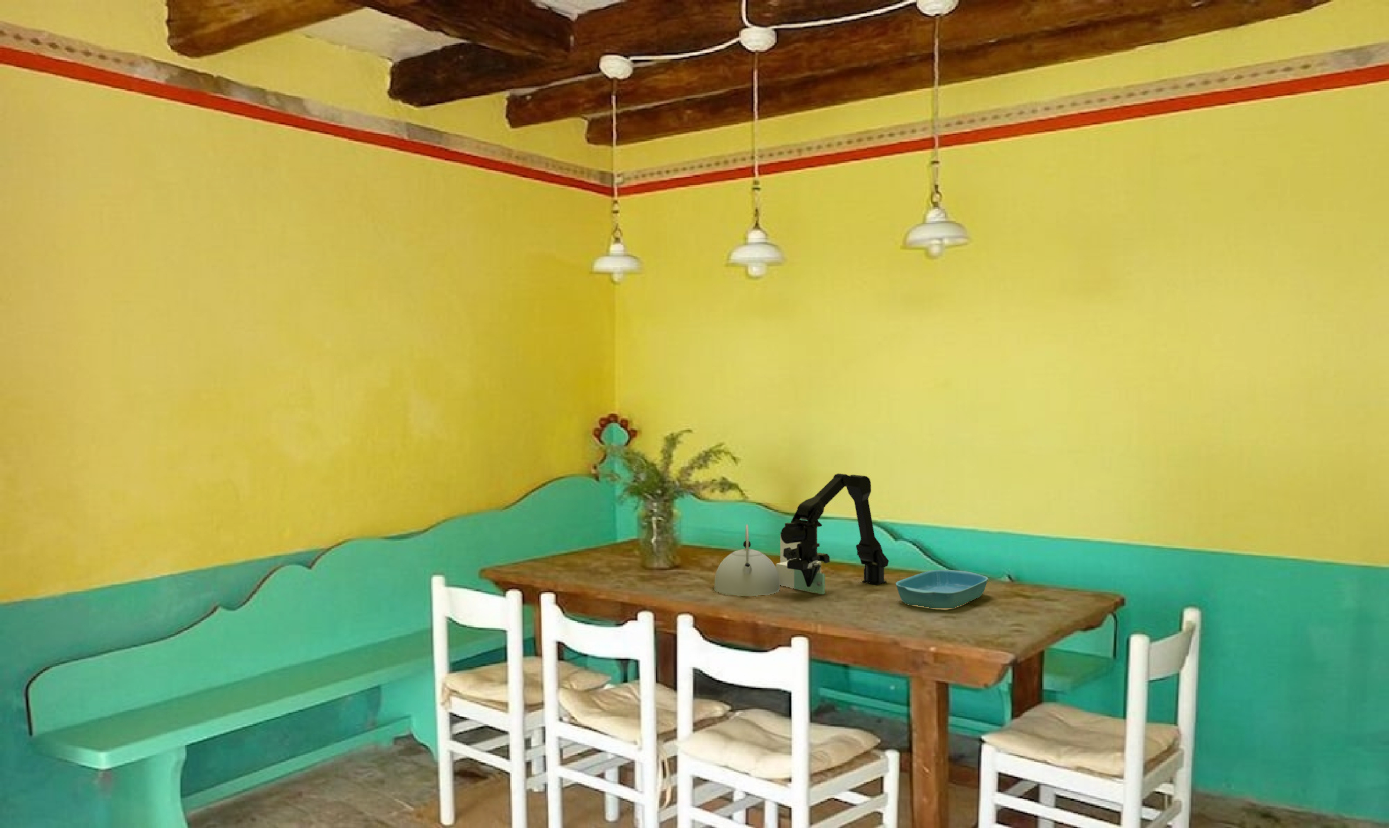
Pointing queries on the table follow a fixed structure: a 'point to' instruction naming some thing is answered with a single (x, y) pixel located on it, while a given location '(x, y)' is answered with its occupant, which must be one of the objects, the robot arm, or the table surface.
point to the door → (815, 587)
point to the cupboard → (788, 574)
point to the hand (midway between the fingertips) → (808, 586)
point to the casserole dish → (941, 588)
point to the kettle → (747, 573)
